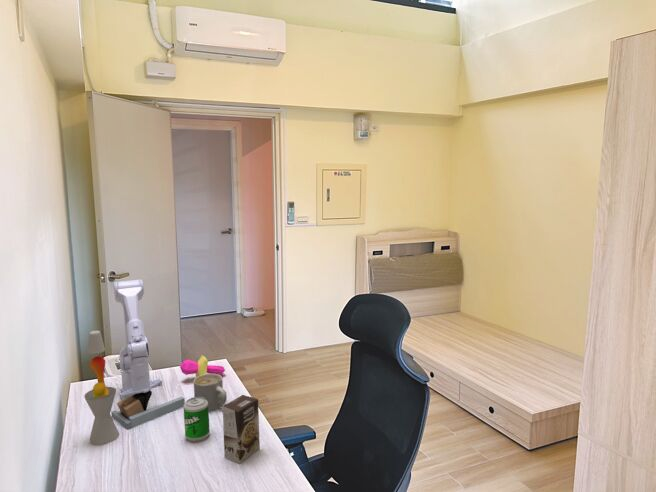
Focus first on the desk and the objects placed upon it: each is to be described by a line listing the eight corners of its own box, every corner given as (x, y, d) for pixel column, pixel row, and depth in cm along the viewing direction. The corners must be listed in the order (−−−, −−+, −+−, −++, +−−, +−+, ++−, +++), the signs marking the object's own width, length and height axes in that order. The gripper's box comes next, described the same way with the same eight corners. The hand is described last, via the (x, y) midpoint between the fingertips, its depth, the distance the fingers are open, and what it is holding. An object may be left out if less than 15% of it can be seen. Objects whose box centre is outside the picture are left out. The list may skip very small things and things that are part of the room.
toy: (225, 382, 191) (228, 356, 195) (180, 379, 183) (184, 352, 186) (217, 383, 199) (220, 358, 203) (174, 380, 191) (178, 354, 195)
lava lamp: (90, 433, 154) (80, 329, 148) (120, 427, 157) (111, 325, 151) (87, 447, 145) (76, 338, 140) (119, 441, 148) (109, 334, 143)
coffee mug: (190, 405, 171) (188, 379, 169) (214, 396, 178) (213, 371, 176) (209, 418, 162) (207, 391, 160) (234, 408, 168) (232, 382, 167)
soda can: (202, 427, 156) (200, 393, 154) (214, 436, 151) (212, 401, 149) (180, 436, 151) (178, 401, 149) (192, 446, 146) (190, 409, 144)
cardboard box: (122, 417, 164) (115, 400, 161) (136, 408, 167) (129, 392, 164) (132, 424, 159) (124, 407, 156) (145, 414, 162) (138, 398, 160)
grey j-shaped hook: (111, 417, 163) (111, 409, 163) (167, 395, 179) (167, 388, 178) (127, 429, 155) (126, 420, 155) (184, 406, 171) (184, 398, 170)
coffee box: (240, 464, 136) (237, 411, 134) (223, 457, 140) (221, 406, 137) (260, 448, 144) (259, 398, 141) (244, 442, 147) (242, 393, 145)
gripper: (124, 385, 155) (127, 423, 157) (165, 371, 165) (168, 407, 168) (115, 378, 160) (118, 416, 162) (155, 365, 170) (158, 401, 172)
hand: (143, 411), depth 165 cm, fingers closed
